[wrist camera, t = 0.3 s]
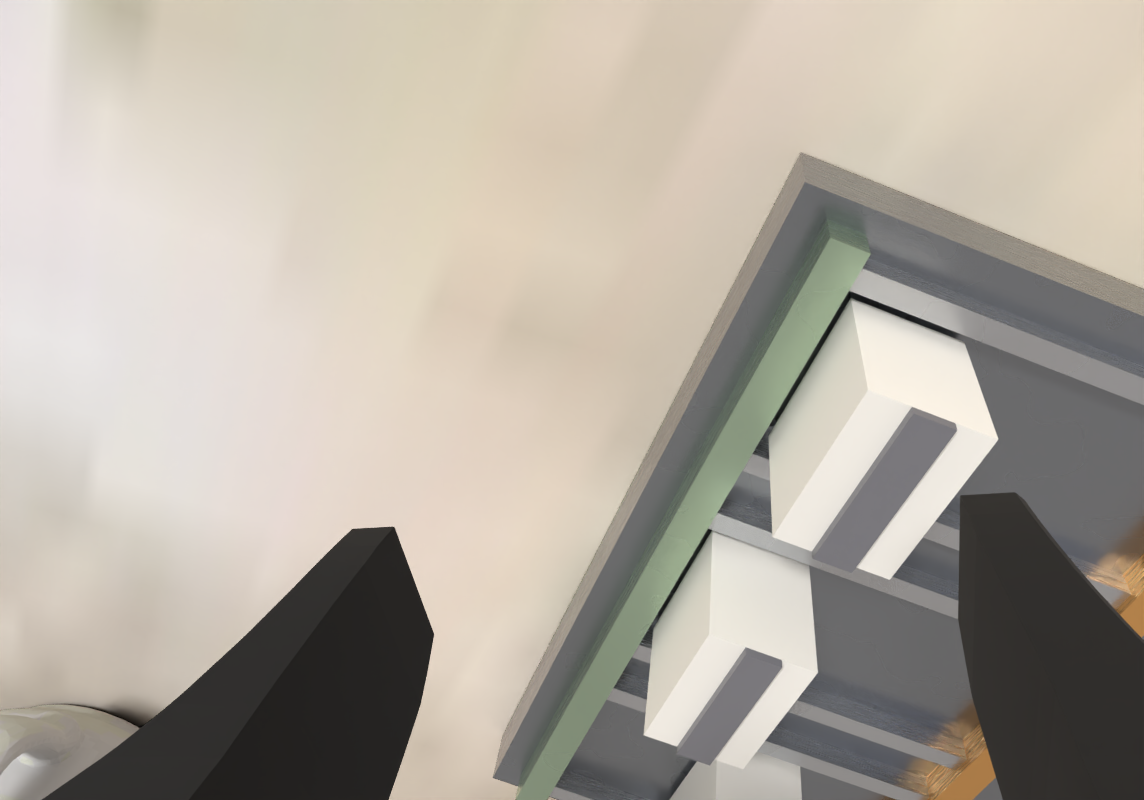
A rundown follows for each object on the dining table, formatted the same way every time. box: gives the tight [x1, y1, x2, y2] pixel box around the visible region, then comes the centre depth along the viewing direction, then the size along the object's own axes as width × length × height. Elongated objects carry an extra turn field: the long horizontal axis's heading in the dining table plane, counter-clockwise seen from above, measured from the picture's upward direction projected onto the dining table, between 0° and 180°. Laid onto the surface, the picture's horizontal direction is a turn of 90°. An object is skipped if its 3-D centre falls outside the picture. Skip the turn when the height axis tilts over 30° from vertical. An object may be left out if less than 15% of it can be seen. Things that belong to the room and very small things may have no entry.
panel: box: [493, 153, 1144, 800], centre depth 25 cm, size 14×20×2 cm
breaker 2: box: [768, 298, 998, 580], centre depth 19 cm, size 2×4×3 cm, turn 160°
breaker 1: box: [644, 530, 818, 769], centre depth 23 cm, size 2×4×3 cm, turn 160°
